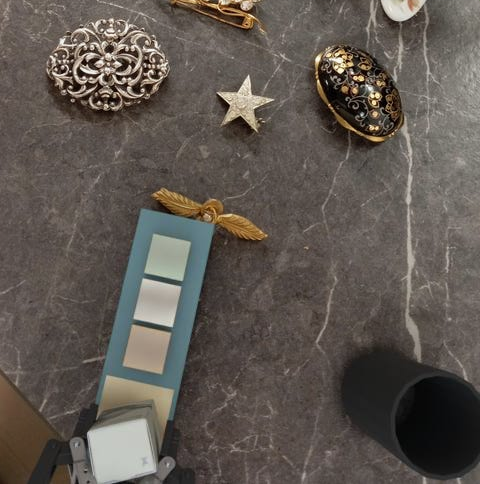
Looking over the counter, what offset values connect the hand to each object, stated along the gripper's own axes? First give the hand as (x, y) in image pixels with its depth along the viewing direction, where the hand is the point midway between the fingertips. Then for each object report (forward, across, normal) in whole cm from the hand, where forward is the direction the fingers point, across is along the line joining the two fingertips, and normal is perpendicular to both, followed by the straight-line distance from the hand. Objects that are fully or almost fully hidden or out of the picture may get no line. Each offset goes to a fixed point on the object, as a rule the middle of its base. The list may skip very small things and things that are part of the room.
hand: (131, 418), depth 79 cm
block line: (+13, 0, +5) cm, 14 cm away
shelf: (+33, 0, +24) cm, 41 cm away
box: (+3, 0, +6) cm, 7 cm away
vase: (+32, -30, +26) cm, 51 cm away
